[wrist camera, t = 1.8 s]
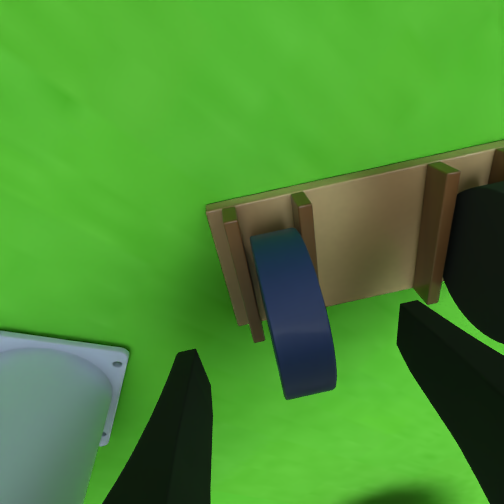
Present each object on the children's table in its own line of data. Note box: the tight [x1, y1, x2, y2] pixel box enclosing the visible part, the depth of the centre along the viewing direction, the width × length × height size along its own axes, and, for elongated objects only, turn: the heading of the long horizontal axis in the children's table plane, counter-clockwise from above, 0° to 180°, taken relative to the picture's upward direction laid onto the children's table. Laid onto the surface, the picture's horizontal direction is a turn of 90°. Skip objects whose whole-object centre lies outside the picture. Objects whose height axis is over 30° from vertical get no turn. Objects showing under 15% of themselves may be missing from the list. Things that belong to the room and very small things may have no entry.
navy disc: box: [250, 227, 337, 400], centre depth 13 cm, size 2×6×6 cm, turn 11°
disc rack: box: [206, 140, 504, 343], centre depth 16 cm, size 14×7×2 cm, turn 101°
